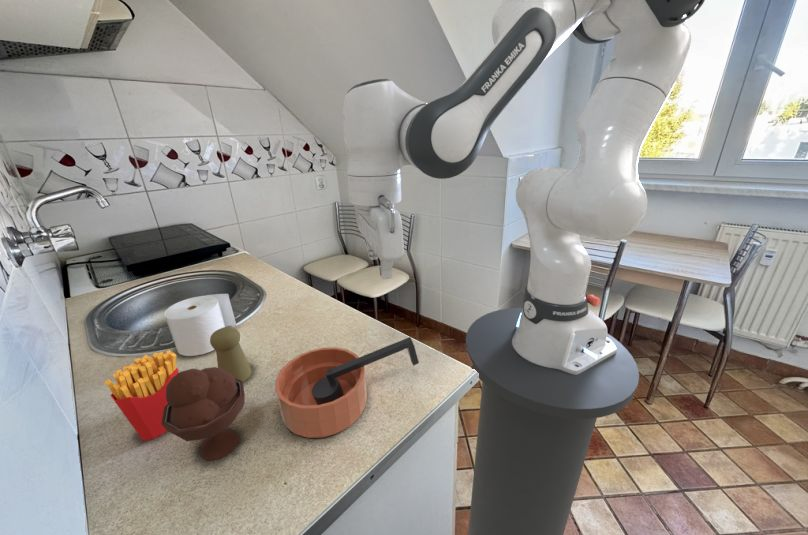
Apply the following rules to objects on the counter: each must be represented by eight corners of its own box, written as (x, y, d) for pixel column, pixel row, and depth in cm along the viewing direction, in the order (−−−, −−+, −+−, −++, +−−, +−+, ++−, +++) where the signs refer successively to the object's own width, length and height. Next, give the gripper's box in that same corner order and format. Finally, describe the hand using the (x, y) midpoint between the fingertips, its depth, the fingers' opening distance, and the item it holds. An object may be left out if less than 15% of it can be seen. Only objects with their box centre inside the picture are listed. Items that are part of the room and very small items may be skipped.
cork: (249, 382, 65) (236, 337, 61) (216, 388, 63) (201, 342, 59) (253, 363, 70) (242, 320, 66) (223, 369, 69) (210, 325, 65)
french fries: (138, 448, 52) (107, 386, 47) (129, 435, 54) (99, 374, 49) (199, 411, 58) (177, 352, 53) (188, 400, 61) (167, 344, 56)
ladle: (318, 414, 56) (306, 391, 54) (316, 394, 61) (305, 372, 58) (422, 369, 60) (416, 346, 58) (413, 353, 65) (407, 331, 62)
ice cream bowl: (213, 490, 45) (182, 410, 39) (165, 460, 50) (130, 384, 44) (271, 431, 54) (252, 359, 48) (225, 409, 59) (203, 341, 53)
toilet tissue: (166, 356, 73) (151, 318, 69) (200, 326, 84) (190, 292, 80) (210, 357, 72) (198, 319, 69) (239, 327, 83) (230, 293, 80)
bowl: (358, 368, 68) (355, 340, 65) (375, 425, 55) (372, 393, 52) (283, 385, 64) (276, 357, 61) (281, 452, 51) (273, 419, 48)
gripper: (413, 201, 46) (414, 288, 51) (378, 182, 64) (382, 248, 69) (370, 204, 44) (375, 294, 49) (347, 184, 62) (352, 251, 67)
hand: (379, 267), depth 59 cm, fingers open, 8 cm apart
